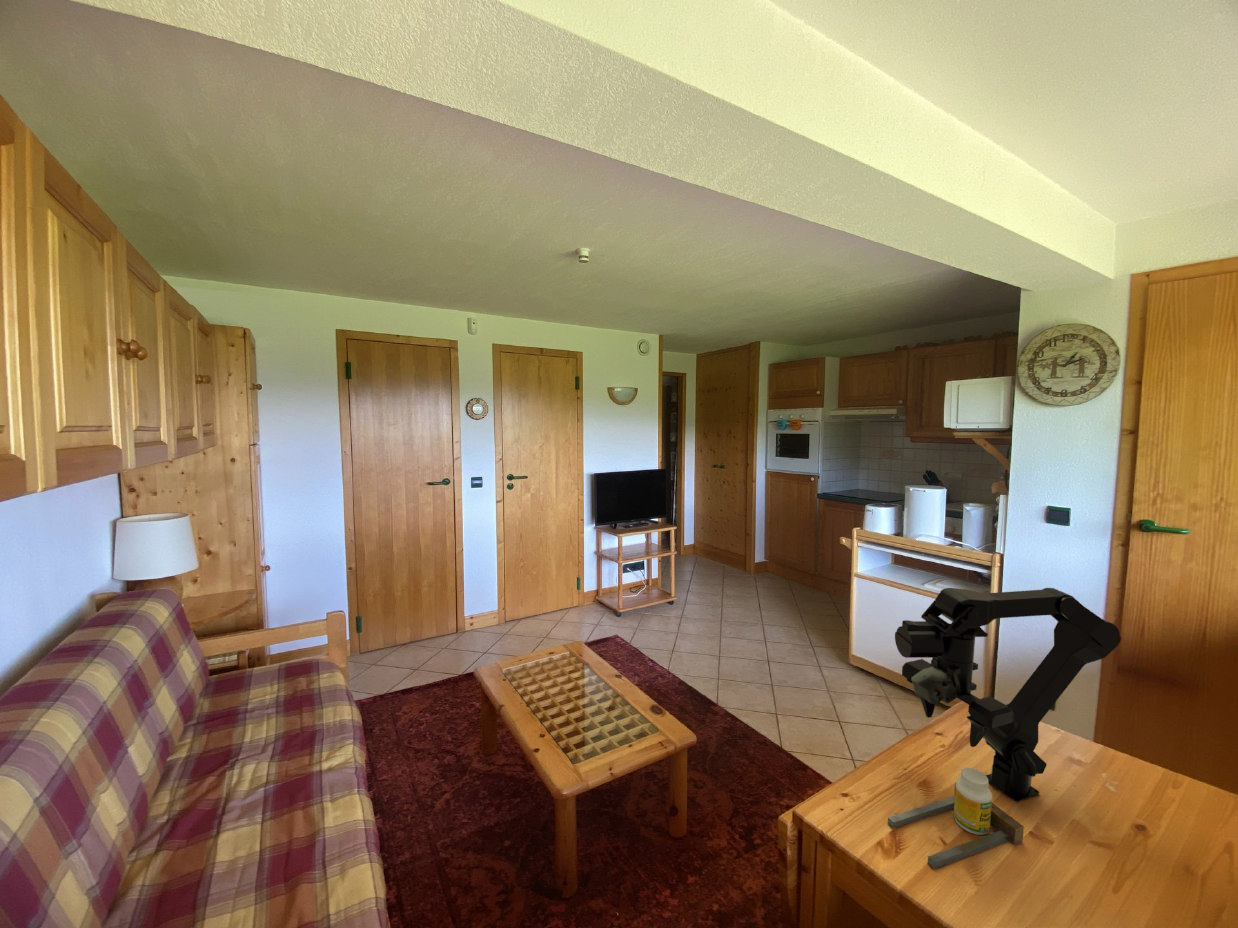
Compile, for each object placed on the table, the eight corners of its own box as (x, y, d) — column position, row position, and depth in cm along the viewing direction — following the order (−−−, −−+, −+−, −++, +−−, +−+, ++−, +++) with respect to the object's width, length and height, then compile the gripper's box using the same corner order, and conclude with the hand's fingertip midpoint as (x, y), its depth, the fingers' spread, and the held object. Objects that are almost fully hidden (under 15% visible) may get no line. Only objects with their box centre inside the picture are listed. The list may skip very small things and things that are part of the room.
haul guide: (961, 794, 95) (962, 780, 95) (1022, 841, 85) (1023, 826, 85) (884, 819, 90) (884, 804, 90) (938, 873, 80) (939, 856, 79)
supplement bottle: (961, 806, 93) (964, 760, 91) (994, 826, 88) (998, 778, 87) (947, 820, 90) (951, 772, 89) (982, 841, 85) (986, 791, 84)
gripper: (882, 640, 101) (879, 711, 103) (971, 689, 83) (965, 774, 85) (924, 632, 104) (920, 701, 106) (1018, 678, 86) (1011, 759, 88)
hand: (950, 730), depth 96 cm, fingers open, 9 cm apart
